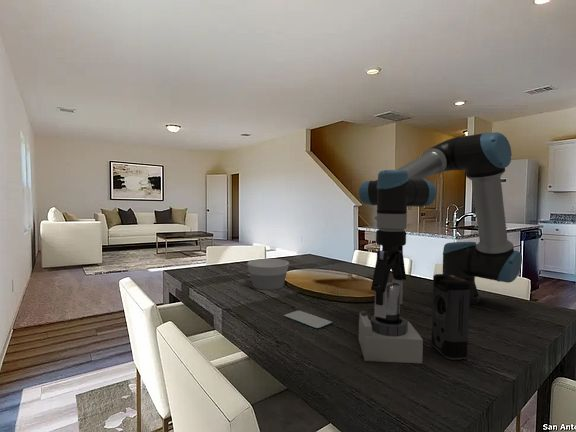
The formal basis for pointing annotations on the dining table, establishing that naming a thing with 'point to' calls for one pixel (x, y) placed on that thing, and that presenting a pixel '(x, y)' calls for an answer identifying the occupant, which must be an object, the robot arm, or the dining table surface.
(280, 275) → the bowl
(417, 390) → the dining table surface
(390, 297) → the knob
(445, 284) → the electronic device
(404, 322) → the grey base with ring
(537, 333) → the dining table surface
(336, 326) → the dining table surface
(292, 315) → the smartphone
